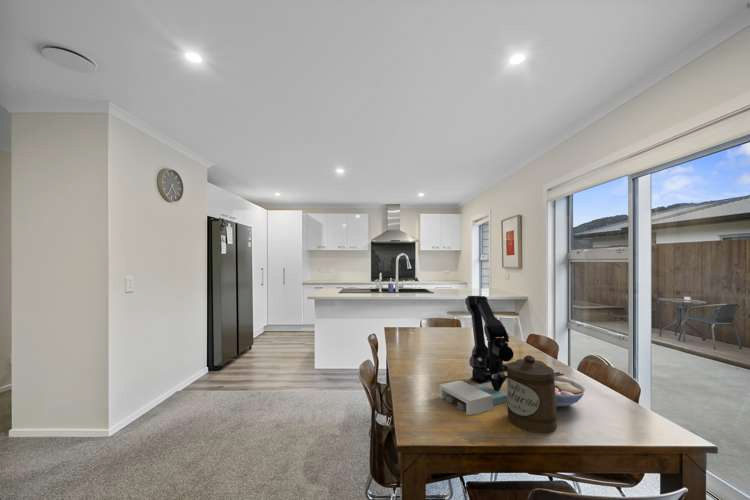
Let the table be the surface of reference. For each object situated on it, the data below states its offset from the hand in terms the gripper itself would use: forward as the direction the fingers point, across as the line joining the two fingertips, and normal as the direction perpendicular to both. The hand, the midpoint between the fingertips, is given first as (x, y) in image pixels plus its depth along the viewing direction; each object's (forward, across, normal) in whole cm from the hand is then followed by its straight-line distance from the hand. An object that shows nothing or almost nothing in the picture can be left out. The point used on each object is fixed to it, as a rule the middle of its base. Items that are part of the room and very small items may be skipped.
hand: (496, 393), depth 126 cm
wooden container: (+1, +6, +21) cm, 22 cm away
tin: (+2, -32, -9) cm, 33 cm away
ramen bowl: (+2, -14, +14) cm, 20 cm away
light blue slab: (+1, +6, 0) cm, 6 cm away
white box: (+1, +16, 0) cm, 17 cm away
